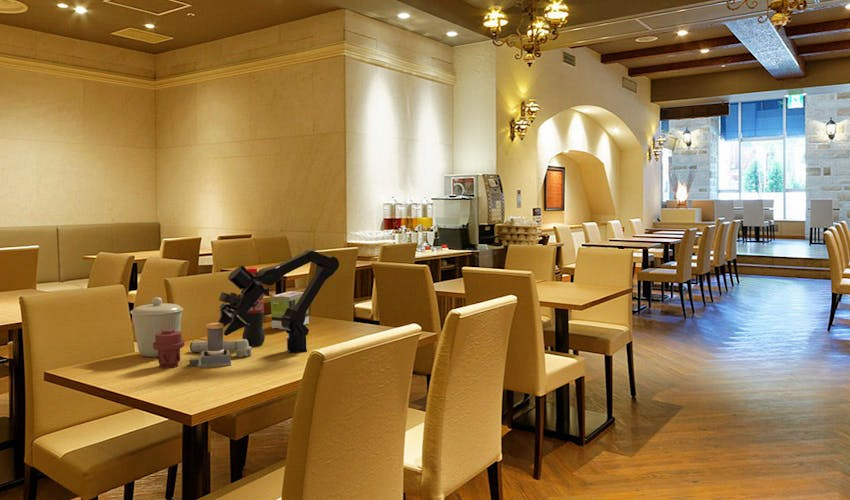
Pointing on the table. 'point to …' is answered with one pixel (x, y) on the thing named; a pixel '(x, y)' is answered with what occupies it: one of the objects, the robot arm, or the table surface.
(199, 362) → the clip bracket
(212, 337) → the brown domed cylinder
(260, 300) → the cola bottle
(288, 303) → the tea box
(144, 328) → the canister
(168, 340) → the mechanical component
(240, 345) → the light grey elongated piece
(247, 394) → the table surface
